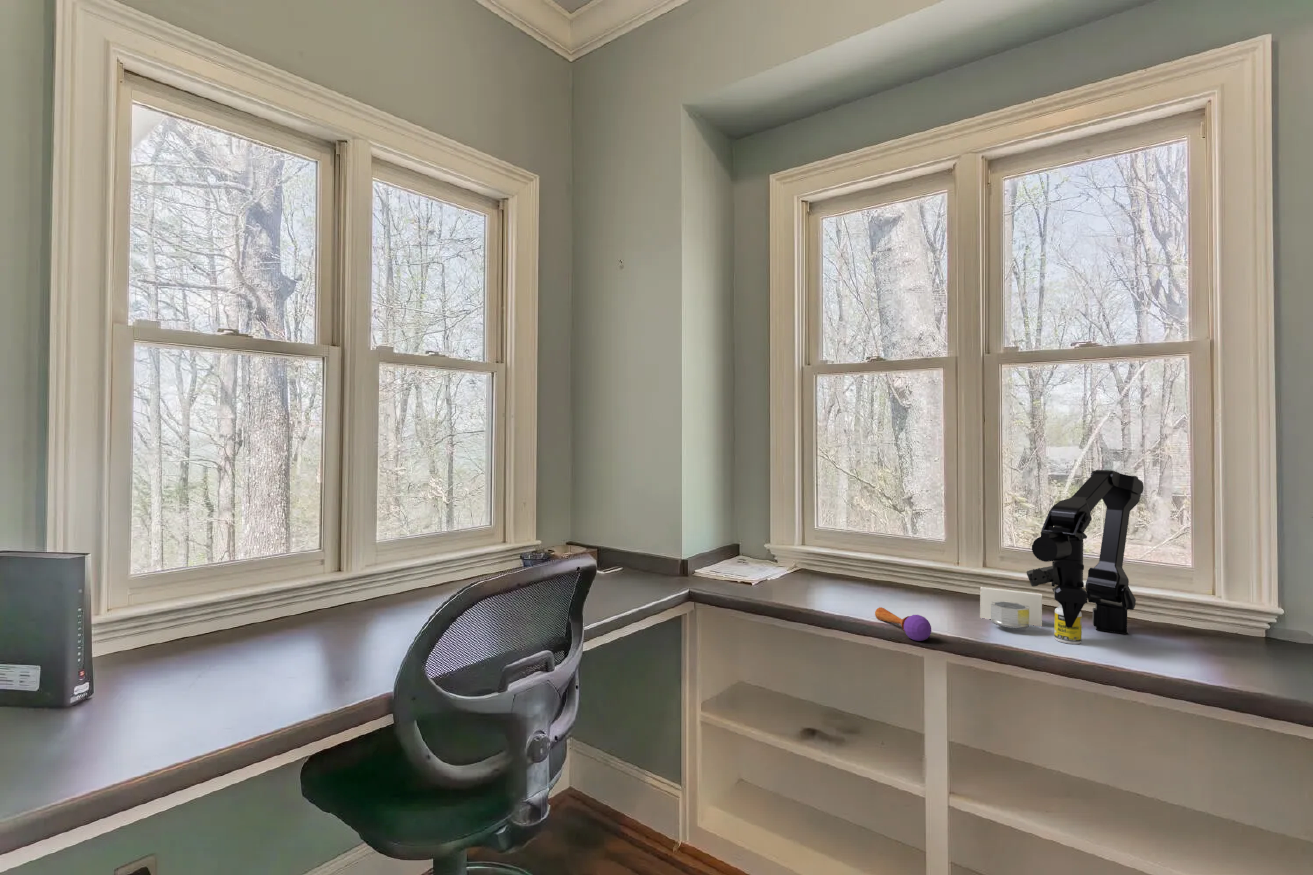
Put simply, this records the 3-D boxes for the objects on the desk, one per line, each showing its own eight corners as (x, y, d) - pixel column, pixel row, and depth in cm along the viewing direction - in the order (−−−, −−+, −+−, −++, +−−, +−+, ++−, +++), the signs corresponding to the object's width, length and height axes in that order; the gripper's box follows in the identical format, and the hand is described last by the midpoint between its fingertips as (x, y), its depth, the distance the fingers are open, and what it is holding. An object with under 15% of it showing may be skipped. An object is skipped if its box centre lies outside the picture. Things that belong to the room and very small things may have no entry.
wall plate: (1041, 624, 160) (1041, 593, 160) (1041, 626, 158) (1042, 595, 158) (980, 616, 167) (980, 586, 167) (980, 618, 166) (980, 588, 166)
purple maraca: (892, 604, 164) (938, 619, 145) (889, 626, 164) (934, 645, 144) (872, 600, 164) (914, 615, 144) (868, 623, 163) (911, 641, 143)
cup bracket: (1028, 619, 160) (1028, 601, 160) (1029, 630, 150) (1029, 611, 150) (992, 614, 164) (992, 597, 164) (990, 624, 154) (990, 606, 154)
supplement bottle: (1053, 641, 146) (1054, 600, 146) (1054, 636, 151) (1054, 595, 151) (1081, 646, 143) (1082, 603, 143) (1081, 640, 148) (1081, 599, 148)
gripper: (1028, 549, 159) (1027, 610, 159) (1029, 560, 143) (1028, 628, 143) (1080, 553, 154) (1080, 616, 154) (1088, 566, 138) (1087, 636, 137)
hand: (1067, 624), depth 147 cm, fingers closed on supplement bottle, 5 cm apart
